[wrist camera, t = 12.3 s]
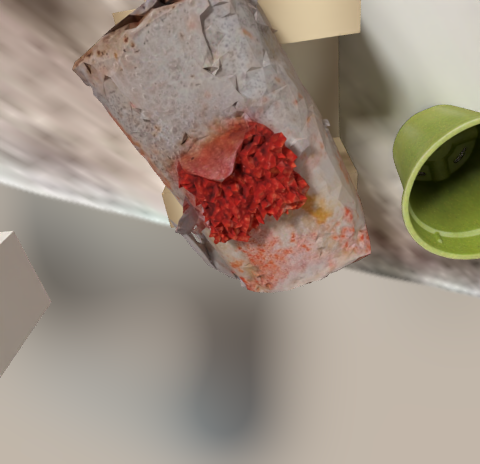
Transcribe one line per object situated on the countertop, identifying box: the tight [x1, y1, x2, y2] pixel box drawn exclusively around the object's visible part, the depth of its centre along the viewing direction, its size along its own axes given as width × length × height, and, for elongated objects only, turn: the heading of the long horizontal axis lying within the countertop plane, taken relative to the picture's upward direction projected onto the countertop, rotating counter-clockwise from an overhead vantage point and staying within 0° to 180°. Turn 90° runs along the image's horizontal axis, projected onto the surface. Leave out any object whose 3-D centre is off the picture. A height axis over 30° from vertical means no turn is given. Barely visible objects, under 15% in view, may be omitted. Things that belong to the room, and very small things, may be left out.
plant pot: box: [393, 105, 480, 259], centre depth 26 cm, size 9×9×9 cm
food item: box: [72, 0, 371, 292], centre depth 18 cm, size 14×8×10 cm, turn 34°
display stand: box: [112, 0, 361, 228], centre depth 25 cm, size 12×14×8 cm
